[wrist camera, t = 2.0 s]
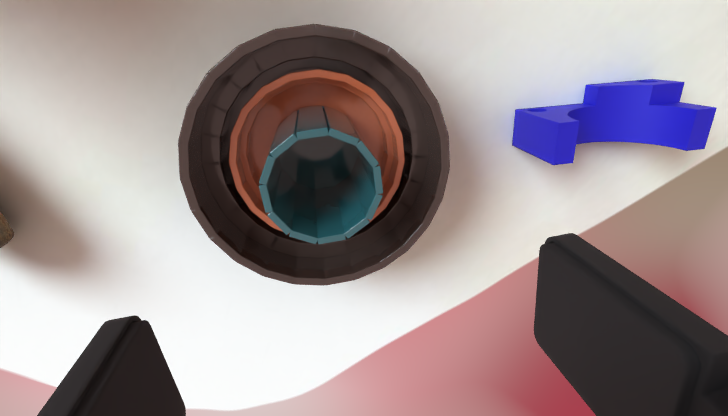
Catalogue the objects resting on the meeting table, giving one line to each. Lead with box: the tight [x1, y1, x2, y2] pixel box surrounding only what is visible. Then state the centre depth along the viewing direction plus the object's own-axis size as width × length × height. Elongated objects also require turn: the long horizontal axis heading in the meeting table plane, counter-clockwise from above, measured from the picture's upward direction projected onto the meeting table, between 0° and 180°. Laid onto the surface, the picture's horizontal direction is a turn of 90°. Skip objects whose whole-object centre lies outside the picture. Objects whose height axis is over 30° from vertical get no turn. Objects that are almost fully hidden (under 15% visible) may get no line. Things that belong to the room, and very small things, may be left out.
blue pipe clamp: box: [512, 79, 716, 165], centre depth 30 cm, size 12×4×6 cm, turn 94°
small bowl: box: [229, 67, 405, 232], centre depth 29 cm, size 12×12×4 cm
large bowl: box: [178, 24, 450, 285], centre depth 28 cm, size 17×17×6 cm
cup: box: [259, 105, 383, 244], centre depth 26 cm, size 7×7×9 cm
